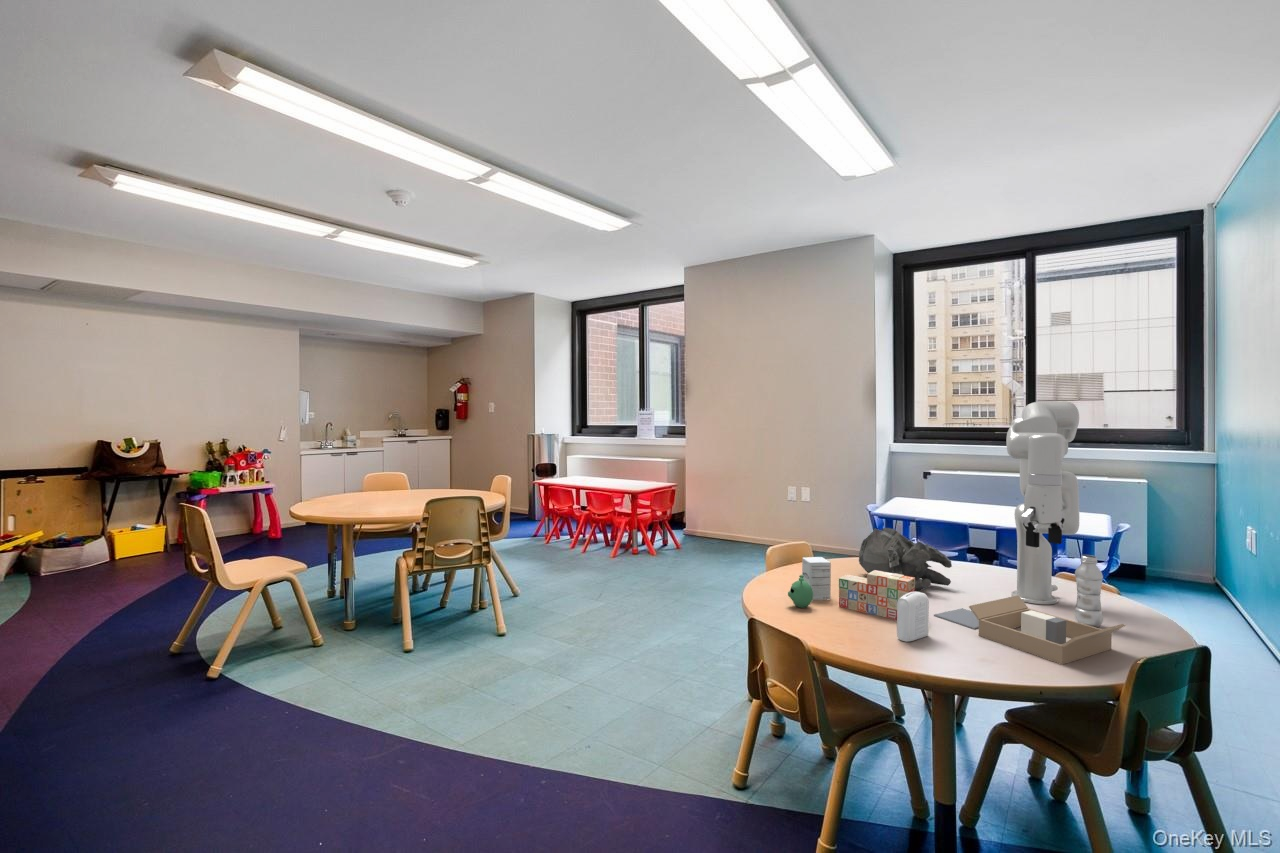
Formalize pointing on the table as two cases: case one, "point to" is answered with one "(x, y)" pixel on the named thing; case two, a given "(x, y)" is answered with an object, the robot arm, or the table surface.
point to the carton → (1007, 615)
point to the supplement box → (817, 576)
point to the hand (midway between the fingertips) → (1043, 544)
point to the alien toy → (801, 593)
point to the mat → (960, 617)
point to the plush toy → (902, 557)
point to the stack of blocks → (874, 592)
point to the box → (1044, 626)
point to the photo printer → (912, 616)
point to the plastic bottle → (1088, 592)
